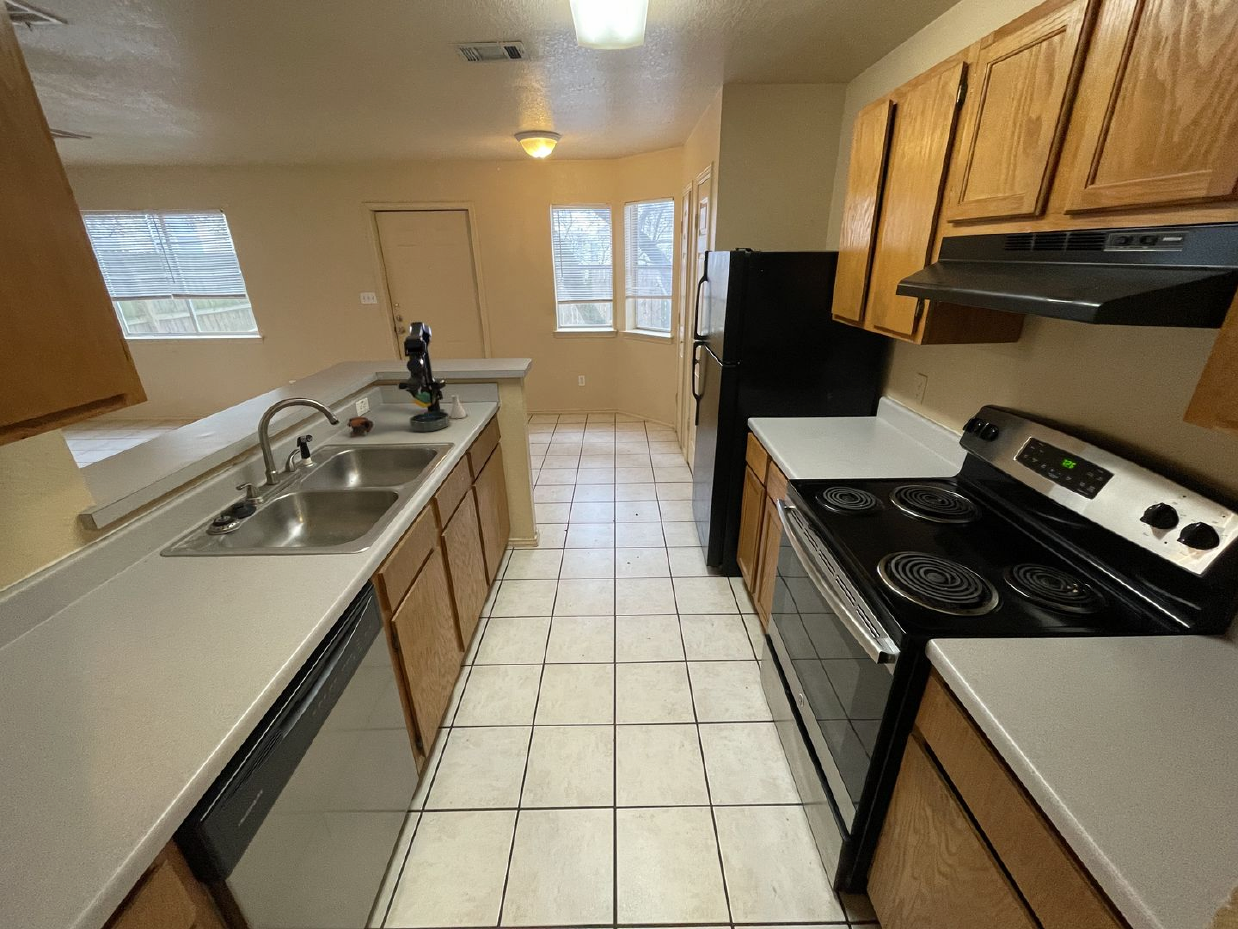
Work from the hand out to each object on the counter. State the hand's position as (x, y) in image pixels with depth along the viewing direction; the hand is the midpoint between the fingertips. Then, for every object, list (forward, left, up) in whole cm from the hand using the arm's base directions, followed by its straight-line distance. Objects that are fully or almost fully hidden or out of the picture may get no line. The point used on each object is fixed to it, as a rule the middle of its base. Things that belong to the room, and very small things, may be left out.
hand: (425, 404), depth 218 cm
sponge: (0, -1, +1) cm, 1 cm away
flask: (-15, +7, -10) cm, 19 cm away
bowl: (0, +1, -10) cm, 10 cm away
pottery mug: (+10, -25, -10) cm, 29 cm away
